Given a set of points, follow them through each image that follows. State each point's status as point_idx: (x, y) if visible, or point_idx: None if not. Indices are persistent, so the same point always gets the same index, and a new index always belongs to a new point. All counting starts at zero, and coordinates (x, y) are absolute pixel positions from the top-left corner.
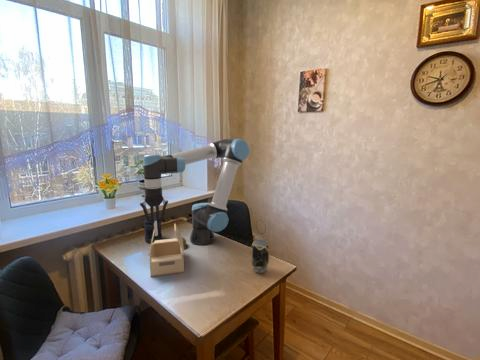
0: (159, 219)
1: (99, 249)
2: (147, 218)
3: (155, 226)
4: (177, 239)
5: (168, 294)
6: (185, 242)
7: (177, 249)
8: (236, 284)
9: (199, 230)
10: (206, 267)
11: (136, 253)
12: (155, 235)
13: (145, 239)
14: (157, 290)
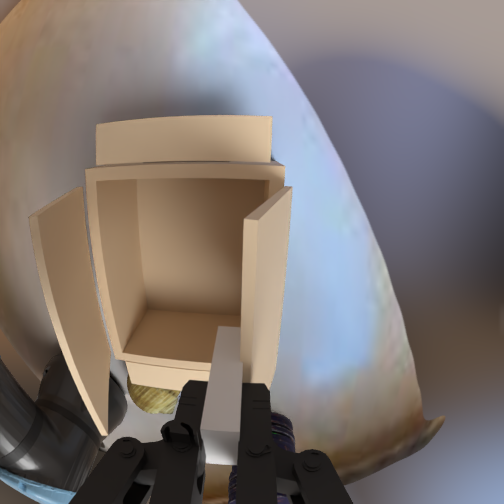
0: (161, 464)
1: (422, 408)
2: (329, 491)
3: (225, 395)
4: (53, 203)
5: (202, 17)
6: (128, 378)
7: (149, 327)
8: (8, 64)
9: (65, 405)
10: (53, 182)
11: (328, 377)
12: (237, 330)
13: (293, 438)
14: (244, 48)
